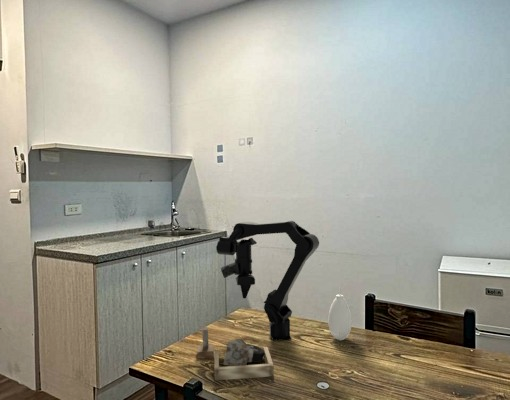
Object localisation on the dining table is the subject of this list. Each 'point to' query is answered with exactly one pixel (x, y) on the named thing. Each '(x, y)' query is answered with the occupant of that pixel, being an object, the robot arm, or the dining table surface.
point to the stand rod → (205, 347)
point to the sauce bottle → (340, 318)
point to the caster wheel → (242, 353)
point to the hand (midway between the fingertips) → (244, 298)
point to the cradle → (244, 369)
